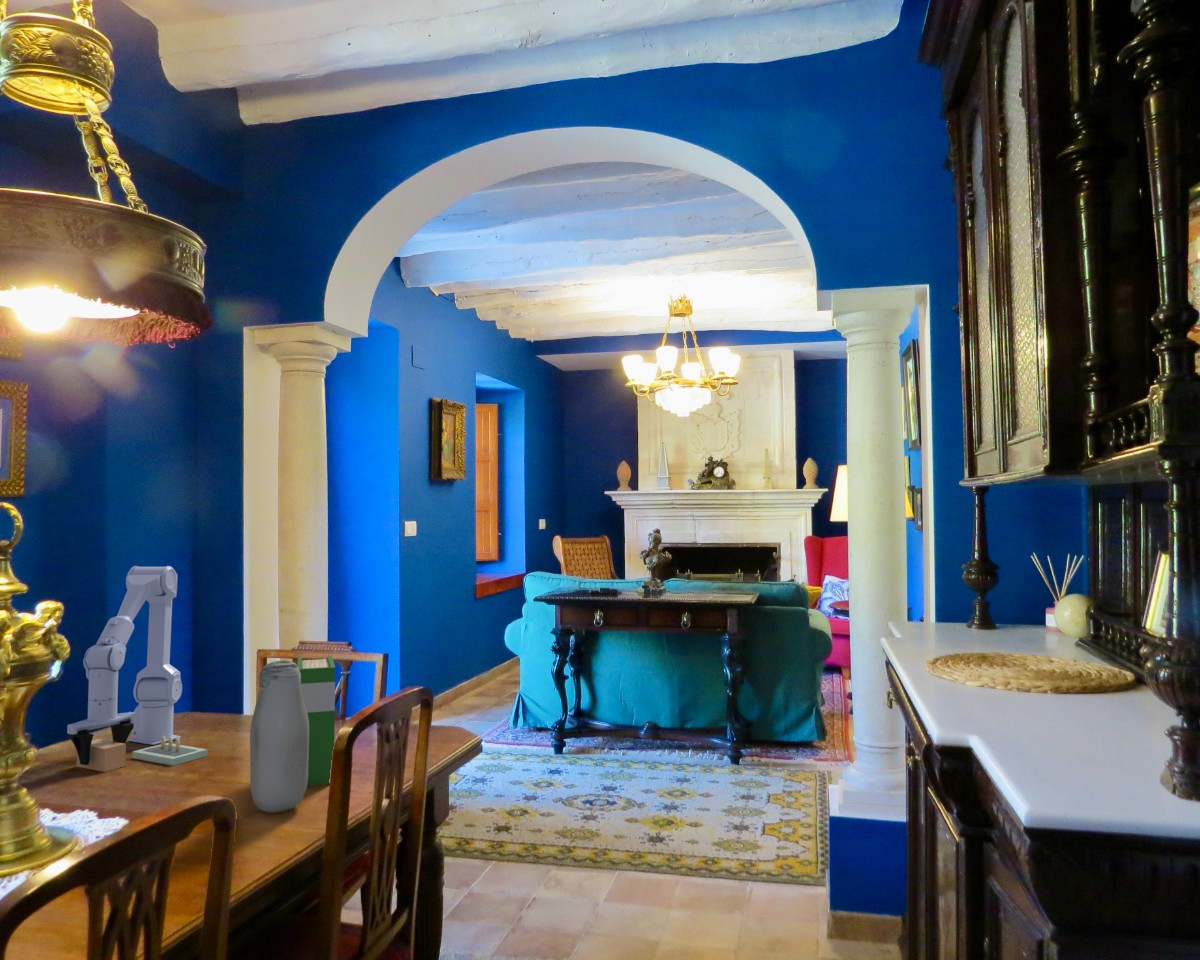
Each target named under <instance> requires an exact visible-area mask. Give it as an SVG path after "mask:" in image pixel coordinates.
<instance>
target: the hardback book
mask: <svg viewBox="0 0 1200 960" xmlns="http://www.w3.org/2000/svg"><path fill="white" fill-rule="evenodd" d="M297 666H298V668H299V670H300V673H301V689H302V694H303V700H304V704H305V707H306V710H307V714H308V719H309V757H308V782H307V787H310V786H311V787H312V786H321V785H329V779H330V769H331V760H332V751H333V747H334V748H335V727H336V726H335V720H336V719H335V718H336V716H335V711H336V710H335V709H336V706H335V705H336V665H335V662H334V658H333V655H327V658H322V659H321V658H320V659H304V660H303V656H299V657H298V656H297Z"/></svg>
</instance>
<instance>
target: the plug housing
mask: <svg viewBox="0 0 1200 960" xmlns="http://www.w3.org/2000/svg"><path fill="white" fill-rule="evenodd" d="M126 749H127V743H125V744H124V743H119V742H113V740H112V741H111V740H106V739H100V738H97V739H92V742H91V747H90V761H89V764H88V765H82V764H80V761H79V757H78V753H77V752H76V767H78V768H83V769H86V770H87V769H88V770H92V771H98V772H103V773H106V772H109V771H114V770H117V769H121V768H125V767H126V758H127V757H126V753H127V750H126ZM124 766H125V767H124ZM120 767H121V768H120Z"/></svg>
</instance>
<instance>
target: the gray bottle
mask: <svg viewBox="0 0 1200 960" xmlns="http://www.w3.org/2000/svg"><path fill="white" fill-rule="evenodd" d="M249 751H250V753H249V754H250V767H249V768H250V770H249V771H250V776H249V777H250V781H249V783H250V784H249V785H250V793H251V796H252V799H253V803H254V804H255V806H256V807H257V808H258V809H259V810H261V811H262V812H265V813H267V814H268V813H271V814H272V813H274V814H275V813H282V812H286V811H288V810H291V809H294V808H295V807H296V806H298V805H299V803H300V802H301V801H302V800H303V798H304V797H305V793H306V792H307V787H308V786H307V782H308V757H309V719H308V714H307V710H306V707H305V704H304V700H303V694H302V689H301V673H300V670H299V668H298V663H295V662H293V661H292V660H291V661H290V660H275V661H271V662H269V663H267V664H266V665H264V667H262V669H261V670H260V673H259V678H258V693H257V701H256V702H255V707H254V710H253V715H252V719H251V723H250V731H249Z"/></svg>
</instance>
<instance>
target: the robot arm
mask: <svg viewBox="0 0 1200 960" xmlns="http://www.w3.org/2000/svg"><path fill="white" fill-rule="evenodd" d="M126 574H127V575H126V577H125V585H126V589H127V591H126V593H125V594H124V598H123V600H122V603H121V605H120V608H119V610H118V613H117V616H113V617H111V618H109V620H108V621H107V623H106V625H105V626H104V628H103V631H102V632H101V634H100V636H99V638H98V639H97V642H96V643H95V644H94V645H92V646H90V647H89V648H88V649H87V650H86V652H85V654H84V658H83V659H82V662H83V668H84V669H85V676H86V679H87V680H88V693H87V695H88V697H87V698H88V701H87V719H83V720H80V721H77V722H73V723H70V724H67V729H66V730H67V731H66V733H67V734H68V737H69V739H70V740H71V742H72V743H73V745H74V748H75V750H76V754H77V753H78V757H79V761H80V764H82V765H88V764H89V761H90V747H91V742H92V740H94V739H93V738H94V735H95V734H93V733H90V731H91V730H92V731H93V730H95V729H101V728H105V727H110V730H111V736H112V741H113V742H119V743H124V744H127V740H128V741H129V742H133V743H140V744H143V745H144V744H145V745H151V746H152V745H153V746H156V745H160V744H161V736H165V743H168V742H169V737H172V741H174V740H176V739H177V738H180V739H181V738H182V736H181V735H177V734H174V709H175V708H174V705H175V703H177V702H178V700H179V699H180V698H181V696H182V694H183V693H182V692H183V684H182V683H183V682H182V679H181V671H179V670H178V669H177V668H176V667H174V666H173V665H171V664H170V659H171V640H172V639H171V638H172V637H171V636H172V635H171V634H172V615H173V599H175V598H177V593H178V592H177V591H178V573H177V572H176V570H175V569H174V568H173V567H172V566H170V565H166V566H139V565H133V566H132V567H131V568H130V569H129V571H128V572H127V573H126ZM145 601H147V602H148V604H149V607H148V608H149V610H148V612H149V613H148V614H149V615H148V632H147V633H148V634H147V635H148V636H147V654H146V655H147V657H146V666H144V668H143V669H141V670H140V671H139V672H138V673H137V674H136V678H135V679H136V680H135V684H134V686H133V691H132V692H133V693H132V694H133V698H134V699H135V702H136V703H138V705H137V706H136V707H135V709H134V711H133V712H132V711H127V712H121V713H118V696H119V694H118V692H119V690H118V689H119V670H120V669H121V668H122V666H123V665H124V663H125V658H126V652H127V647H126V646H127V644H128V642H129V639H130V638H131V636H132V634H133V632H134V629H135V624H134V623H133V622H134V619H135V618H136V617H137V615H138V613H139V612H140V610H141V609H142V607H143V605H144V604H145ZM130 734H131V738H129V736H130Z"/></svg>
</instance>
